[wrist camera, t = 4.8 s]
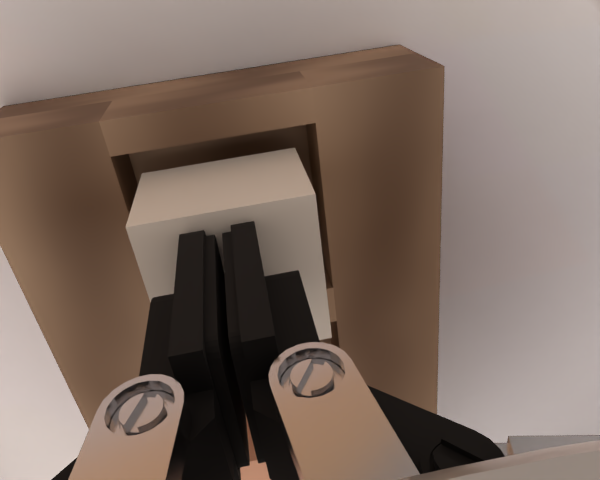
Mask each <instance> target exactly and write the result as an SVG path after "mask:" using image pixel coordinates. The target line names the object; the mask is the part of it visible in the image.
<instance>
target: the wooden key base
mask: <svg viewBox="0 0 600 480" xmlns="http://www.w3.org/2000/svg"><path fill="white" fill-rule="evenodd" d="M443 107H444V66H443V65H441V64H439V63H437V62H435V61H433V60H430V59H428V58H426V57H424V56H422V55H420V54H418V53H416V52H414V51H412V50H410V49H408V48H406V47H403V46H401V45H395V46H388V47H382V48H375V49H369V50H362V51H356V52H350V53H343V54H337V55H330V56H324V57H318V58H311V59H305V60H298V61H292V62H285V63H279V64H273V65H266V66H260V67H253V68H247V69H240V70H234V71H228V72H221V73H215V74H208V75H202V76H196V77H189V78H183V79H176V80H170V81H163V82H157V83H151V84H144V85H138V86H131V87H125V88H118V89H112V90H106V91H99V92H93V93H86V94H80V95H74V96H67V97H61V98H54V99H48V100H41V101H35V102H29V103H22V104H16V105H9V106H3V107H2V108H1V109H0V245H1V248H2V250H3V252H4V254H5V256H6V258H7V260H8V262H9V264H10V266H11V268H12V270H13V272H14V275H15V277H16V279H17V281H18V283H19V285H20V287H21V289H22V291H23V293H24V295H25V297H26V299H27V302H28V304H29V306H30V308H31V310H32V312H33V314H34V316H35V318H36V320H37V322H38V324H39V326H40V329H41V331H42V333H43V335H44V337H45V339H46V341H47V343H48V345H49V347H50V349H51V351H52V353H53V356H54V358H55V360H56V362H57V364H58V366H59V368H60V370H61V372H62V374H63V376H64V378H65V380H66V382H67V385H68V387H69V389H70V391H71V393H72V395H73V397H74V399H75V401H76V403H77V405H78V407H79V409H80V412H81V414H82V416H83V418H84V420H85V422H86V424H87V426H88V428H89V429H90V426H91V424H92V421H93V419H94V416H95V414H96V412H97V410H98V408H99V406H100V405H101V403H102V401H103V400H104V399H105V398H106V397H107V396H108V395H109V394H110V393H111V392H112V391H113V390H114V389H116V388H117V387H119V386H120V385H122V384H123V383H125V382H127V381H129V380H131V379H134V378H136V377H139V373H140V367H141V360H142V354H143V347H144V341H145V334H146V328H147V321H148V315H149V309H150V300H149V297H148V294H147V291H146V288H145V285H144V282H143V278H142V275H141V272H140V269H139V266H138V263H137V260H136V257H135V254H134V251H133V248H132V245H131V242H130V239H129V236H128V233H127V230H126V224H127V221H128V217H129V214H130V211H131V207H132V204H133V201H134V197H135V194H136V191H137V188H138V184H139V181H140V178H141V174H142V173H147V172H153V171H158V170H164V169H170V168H176V167H182V166H188V165H194V164H200V163H206V162H212V161H218V160H224V159H230V158H236V157H242V156H247V155H253V154H259V153H265V152H271V151H277V150H283V149H289V148H295V149H296V151H297V153H298V156H299V158H300V160H301V162H302V165H303V167H304V169H305V171H306V174H307V176H308V178H309V180H310V183H311V185H312V187H313V189H314V192H315V194H316V202H317V211H318V220H319V229H320V237H321V246H322V255H323V264H324V272H325V281H326V290H327V299H328V307H329V316H330V325H331V334H332V338H328V339H323V340H319V341H320V342H323V343H327V344H331V345H335V346H337V347H338V348H340V349H342V350H344V351H345V352H346V353H347V355H348V356H349V357H350V358H351V359H352V361H353V363H354V364H355V366H356V368H357V369H358V371H359V373H360V374H361V376H362V378H363V379H364V381H365V383H366V384H367V385H368V386H370V387H373V388H375V389H378V390H380V391H382V392H385V393H387V394H389V395H392V396H394V397H396V398H399V399H401V400H404V401H406V402H408V403H411V404H413V405H415V406H418V407H420V408H422V409H425V410H427V411H430V412H432V413H434V414H437V379H438V334H439V288H440V243H441V198H442V153H443Z"/></svg>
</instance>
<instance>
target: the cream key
mask: <svg viewBox="0 0 600 480" xmlns="http://www.w3.org/2000/svg"><path fill="white" fill-rule="evenodd" d="M251 221H254V222H255V228H256V233H257V238H258V244H259V249H260V255H261V260H262V265H263V271H264V276H269V275H274V274H279V273H285V272H290V271H295V270H298V271H299V273H300V276H301V279H302V283H303V286H304V290H305V293H306V296H307V300H308V303H309V307H310V310H311V314H312V317H313V320H314V324H315V327H316V331H317V334H318V337H319V340H323V339H328V338H332V334H331V325H330V316H329V307H328V299H327V290H326V281H325V272H324V264H323V255H322V246H321V237H320V229H319V220H318V211H317V202H316V194H315V192H314V189H313V187H312V185H311V183H310V180H309V178H308V176H307V174H306V171H305V169H304V167H303V165H302V162H301V160H300V158H299V156H298V153H297V151H296V149H295V148H289V149H283V150H277V151H271V152H265V153H259V154H253V155H247V156H242V157H236V158H230V159H224V160H218V161H212V162H206V163H200V164H194V165H188V166H182V167H176V168H170V169H164V170H158V171H153V172H147V173H142V174H141V178H140V181H139V184H138V188H137V191H136V194H135V197H134V201H133V204H132V207H131V211H130V214H129V217H128V221H127V224H126V230H127V233H128V236H129V239H130V242H131V245H132V248H133V251H134V254H135V257H136V260H137V263H138V266H139V269H140V272H141V275H142V278H143V282H144V285H145V288H146V291H147V294H148V297H149V300H150V303H151V299H152V298H153V297H158V296H163V295H169V294H174V285H175V274H176V263H177V252H178V241H179V234H184V233H190V232H196V231H201V230H204V231H205V233H206V236H209V235H215V236H216V240H217V244H218V248H219V253H220V257H221V261H222V266H223V270H224V258H223V241H222V233H226V232H231V226H230V225H234V224H240V223H245V222H251Z"/></svg>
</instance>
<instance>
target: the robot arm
mask: <svg viewBox="0 0 600 480" xmlns="http://www.w3.org/2000/svg"><path fill="white" fill-rule="evenodd" d="M230 226H231V232H226V233H222V241H223V258H224V270H223V266H222V261H221V257H220V253H219V248H218V244H217V240H216V236H215V235H209V236H206V233H205V231H204V230H201V231H196V232H190V233H184V234H179V241H178V252H177V263H176V274H175V285H174V294H169V295H163V296H158V297H153V298H152V299H151V303H150V309H149V315H148V321H147V328H146V334H145V341H144V347H143V354H142V360H141V367H140V373H139V377H136V378H134V379H131V380H129V381H127V382H125V383H123V384H122V385H120V386H119V387H117V388H116V389H114V390H113V391H112V392H111V393H110V394H109V395H108V396H107V397H106V398H105V399H104V400H103V401H102V403H101V405H100V406H99V408H98V410H97V412H96V414H95V416H94V419H93V421H92V424H91V426H90V429H89V431H88V433H87V436H86V438H85V441H84V443H83V445H82V448H81V450H80V453H79V455H78V457H77V458H76V459H75V460H74V461H72V462H71V463H70V464H69V465H68V466H67V467H66V468H64V469H63V470H62V471H61V472H60V473H59V474H57V475H56V476H55V477H54V478H53V479H52V480H241V473H240V468H241V467H245V466H250V457H249V445H248V434H247V423H246V417H247V421H248V425H249V429H250V433H251V437H252V441H253V445H254V449H255V453H256V457H257V461H258V463H264V462H266V465H267V470H268V474H269V478H270V479H271V480H600V435H566V436H508V442H507V443H493V442H492V441H491V440H490V439H489V438H487V437H485V436H484V435H482V434H480V433H478V432H477V431H475V430H472V429H470V428H467V427H465V426H463V425H460V424H458V423H456V422H453V421H451V420H448V419H446V418H444V417H441V416H439V415H437V414H434V413H432V412H430V411H427V410H425V409H422V408H420V407H418V406H415V405H413V404H411V403H408V402H406V401H404V400H401V399H399V398H396V397H394V396H392V395H389V394H387V393H385V392H382V391H380V390H378V389H375V388H373V387H370V386H368V385H367V384H366V383H365V381H364V379H363V378H362V376H361V374H360V373H359V371H358V369H357V368H356V366H355V364H354V363H353V361H352V359H351V358H350V357H349V356H348V355H347V353H346V352H345V351H344V350H342V349H340V348H338V347H337V346H335V345H331V344H327V343H323V342H320V341H319V337H318V334H317V331H316V327H315V324H314V320H313V317H312V314H311V310H310V307H309V303H308V300H307V296H306V293H305V290H304V286H303V283H302V279H301V276H300V273H299V271H298V270H295V271H290V272H285V273H279V274H274V275H269V276H264V271H263V265H262V260H261V255H260V249H259V244H258V238H257V233H256V228H255V222H254V221H251V222H245V223H240V224H234V225H230Z"/></svg>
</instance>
